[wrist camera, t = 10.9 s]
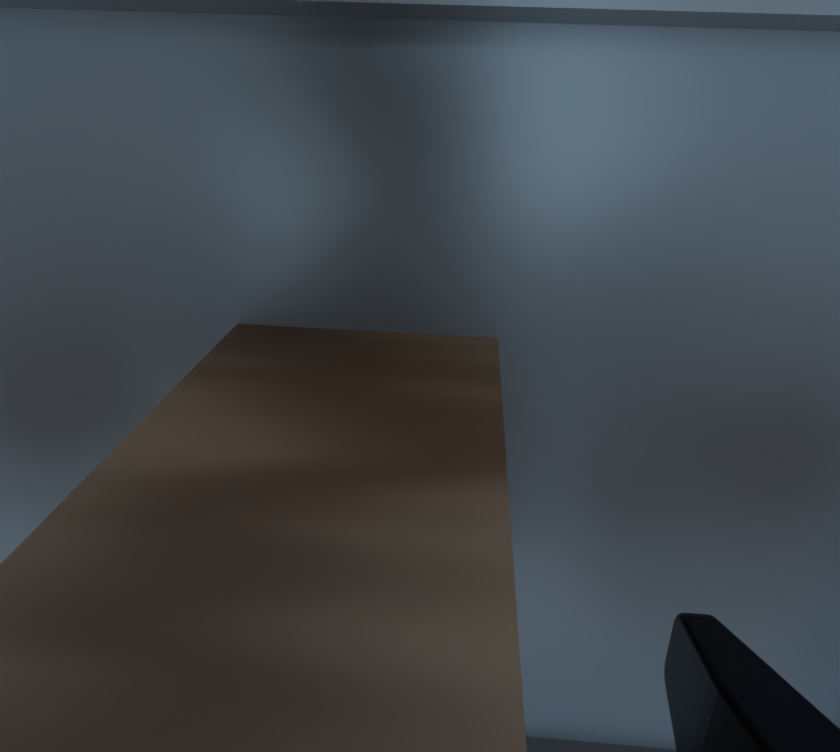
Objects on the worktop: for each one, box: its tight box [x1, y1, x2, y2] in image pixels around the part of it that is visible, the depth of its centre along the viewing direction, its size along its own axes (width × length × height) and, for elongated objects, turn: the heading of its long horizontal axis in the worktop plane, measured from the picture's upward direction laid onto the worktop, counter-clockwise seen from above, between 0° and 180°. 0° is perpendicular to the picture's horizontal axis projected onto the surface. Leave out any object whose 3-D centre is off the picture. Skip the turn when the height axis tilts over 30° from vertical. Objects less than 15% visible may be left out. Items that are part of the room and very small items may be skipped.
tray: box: [0, 0, 840, 752], centre depth 12 cm, size 22×16×3 cm
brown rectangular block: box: [0, 324, 527, 752], centre depth 8 cm, size 5×5×10 cm
